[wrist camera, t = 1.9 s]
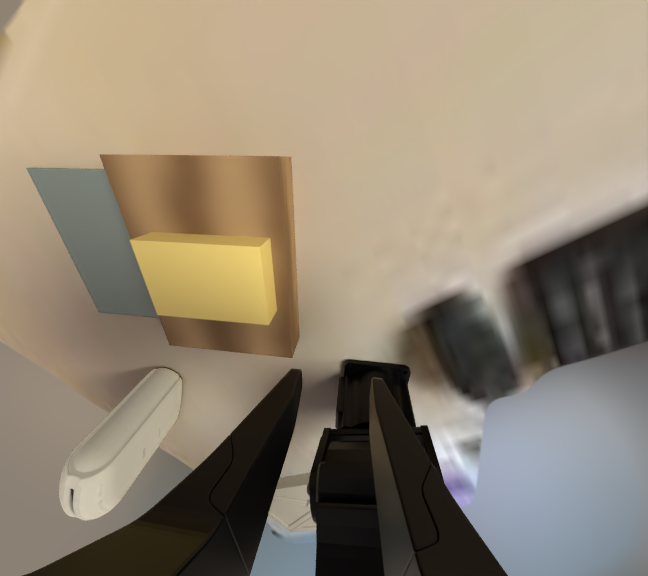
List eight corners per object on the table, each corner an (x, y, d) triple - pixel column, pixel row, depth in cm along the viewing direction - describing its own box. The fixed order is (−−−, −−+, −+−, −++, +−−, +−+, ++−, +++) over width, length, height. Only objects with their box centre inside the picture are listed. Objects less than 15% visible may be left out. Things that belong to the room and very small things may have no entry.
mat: (141, 169, 19) (137, 170, 19) (186, 318, 25) (184, 320, 25) (30, 167, 20) (26, 168, 20) (101, 310, 27) (99, 312, 26)
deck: (291, 156, 17) (278, 156, 14) (299, 336, 25) (292, 357, 22) (136, 155, 18) (99, 154, 16) (189, 326, 26) (169, 345, 23)
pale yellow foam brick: (270, 238, 17) (259, 246, 15) (277, 310, 20) (268, 325, 18) (151, 232, 18) (129, 240, 16) (174, 301, 21) (157, 315, 19)
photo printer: (181, 419, 35) (99, 538, 24) (152, 409, 34) (56, 524, 24) (187, 373, 30) (88, 497, 19) (153, 361, 29) (32, 478, 19)
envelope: (247, 480, 42) (292, 517, 46) (241, 496, 40) (289, 533, 45) (373, 458, 33) (414, 506, 38) (373, 477, 31) (417, 525, 36)
